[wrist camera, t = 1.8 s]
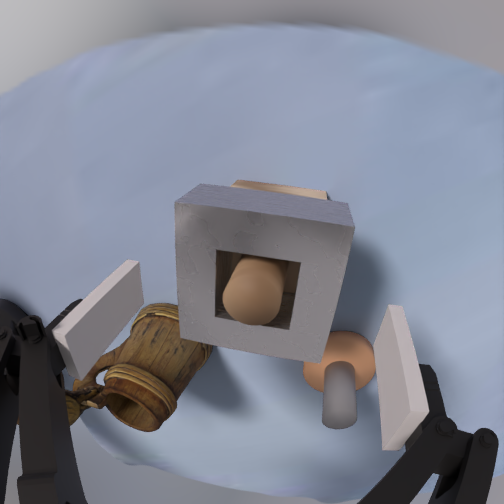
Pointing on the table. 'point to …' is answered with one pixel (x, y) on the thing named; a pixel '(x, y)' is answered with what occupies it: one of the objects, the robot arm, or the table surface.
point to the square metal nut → (266, 245)
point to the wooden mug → (142, 372)
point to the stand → (261, 272)
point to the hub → (341, 376)
